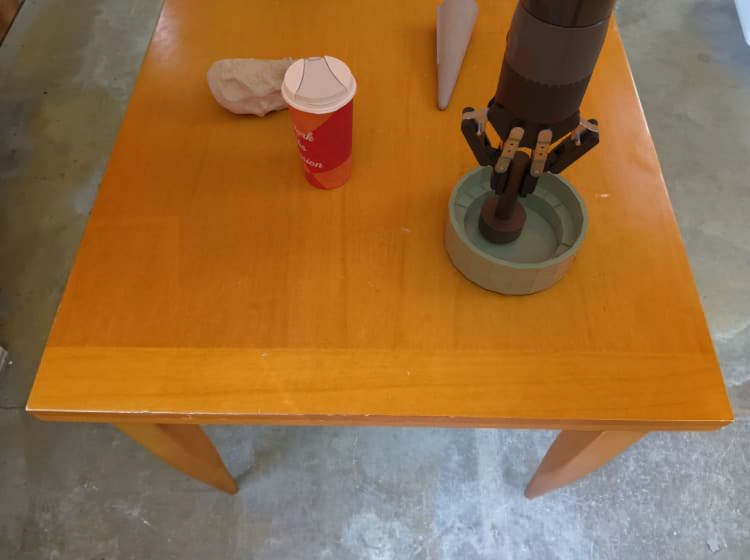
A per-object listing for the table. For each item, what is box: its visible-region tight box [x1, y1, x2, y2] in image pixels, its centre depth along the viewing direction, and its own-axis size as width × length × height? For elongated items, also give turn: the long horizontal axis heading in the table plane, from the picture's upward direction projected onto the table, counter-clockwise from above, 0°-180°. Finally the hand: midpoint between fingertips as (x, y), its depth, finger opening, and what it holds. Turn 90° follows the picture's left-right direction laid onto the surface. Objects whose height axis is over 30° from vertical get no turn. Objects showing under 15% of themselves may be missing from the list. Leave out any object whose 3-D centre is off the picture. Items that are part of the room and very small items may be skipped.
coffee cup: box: [281, 55, 357, 191], centre depth 68 cm, size 8×8×15 cm
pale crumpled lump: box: [206, 56, 309, 118], centre depth 78 cm, size 15×7×15 cm
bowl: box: [443, 164, 590, 295], centre depth 65 cm, size 15×15×6 cm
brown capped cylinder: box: [478, 150, 530, 244], centre depth 63 cm, size 5×5×11 cm
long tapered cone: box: [436, 0, 480, 110], centre depth 83 cm, size 6×6×19 cm
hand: (510, 190), depth 62 cm, fingers closed on brown capped cylinder
